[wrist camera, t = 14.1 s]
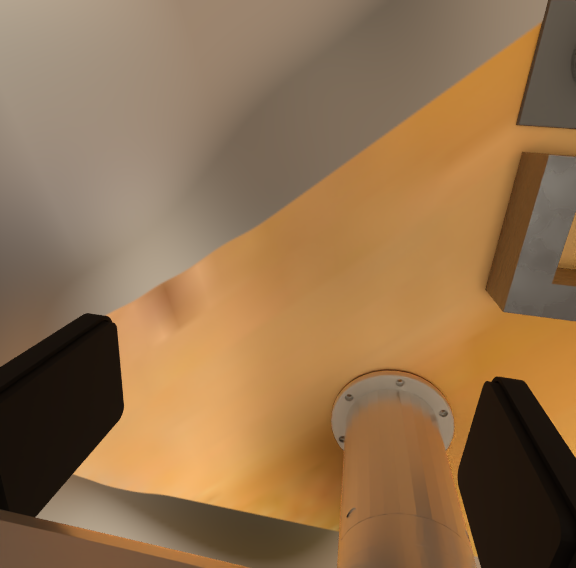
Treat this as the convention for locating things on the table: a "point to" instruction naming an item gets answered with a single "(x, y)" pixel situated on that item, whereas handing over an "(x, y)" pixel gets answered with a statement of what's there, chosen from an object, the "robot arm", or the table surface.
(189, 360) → the table surface
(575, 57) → the cover plug
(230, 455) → the table surface
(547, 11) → the mat
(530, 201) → the housing
